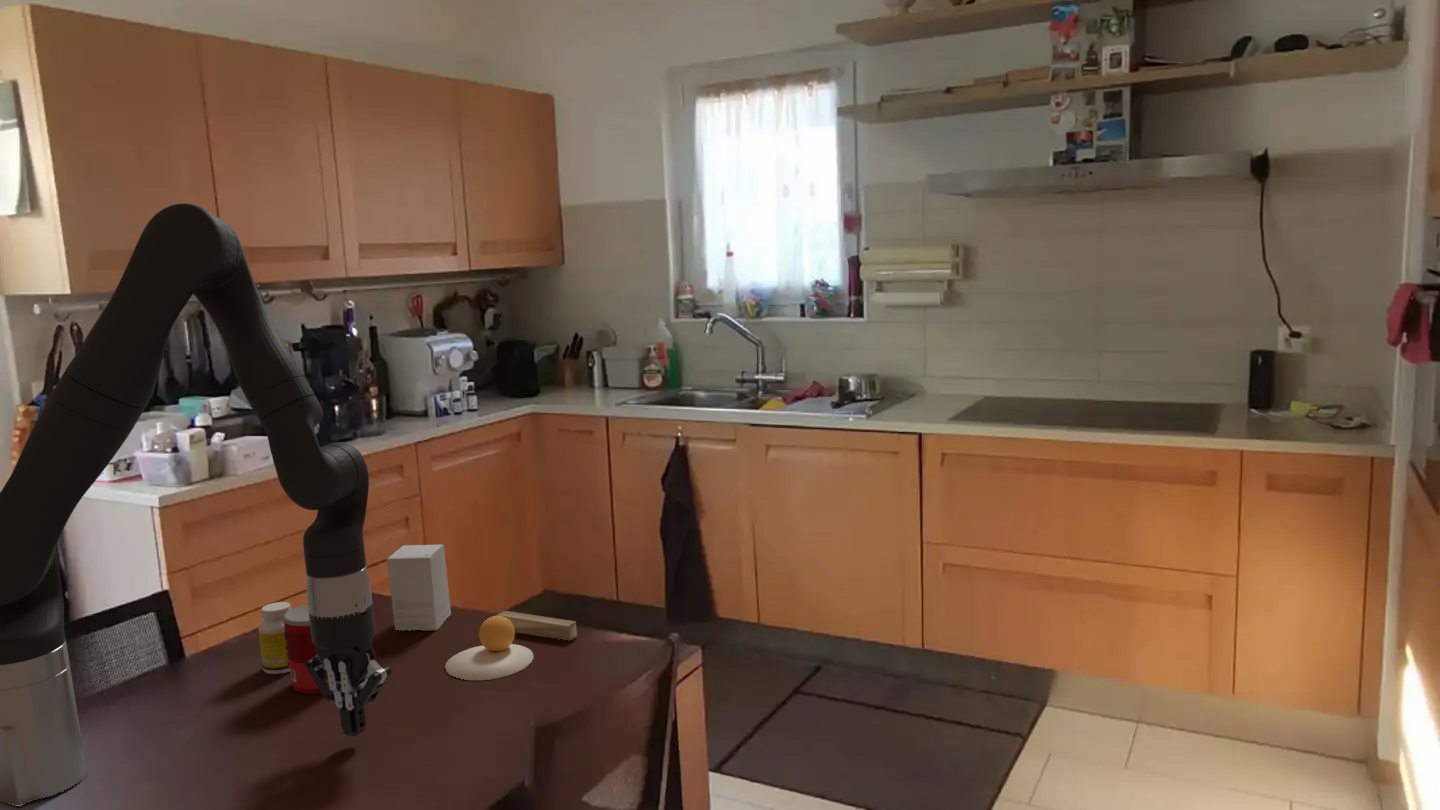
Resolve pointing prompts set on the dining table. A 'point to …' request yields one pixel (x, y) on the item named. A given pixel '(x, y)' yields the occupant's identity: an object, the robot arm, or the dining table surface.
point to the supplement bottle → (274, 638)
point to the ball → (497, 633)
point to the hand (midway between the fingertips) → (354, 733)
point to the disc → (488, 662)
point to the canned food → (300, 649)
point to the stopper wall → (541, 625)
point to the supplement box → (419, 587)
